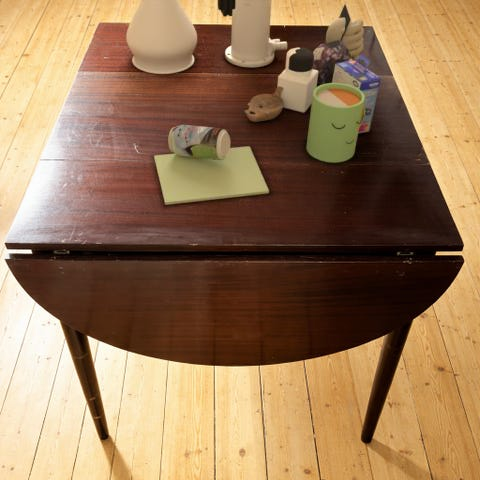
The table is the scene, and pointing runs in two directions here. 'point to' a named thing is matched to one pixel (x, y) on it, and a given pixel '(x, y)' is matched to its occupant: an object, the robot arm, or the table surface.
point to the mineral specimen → (329, 59)
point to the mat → (209, 177)
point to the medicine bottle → (298, 80)
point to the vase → (161, 37)
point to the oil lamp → (265, 106)
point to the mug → (335, 121)
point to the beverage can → (199, 142)
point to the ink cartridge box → (359, 85)
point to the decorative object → (347, 33)
